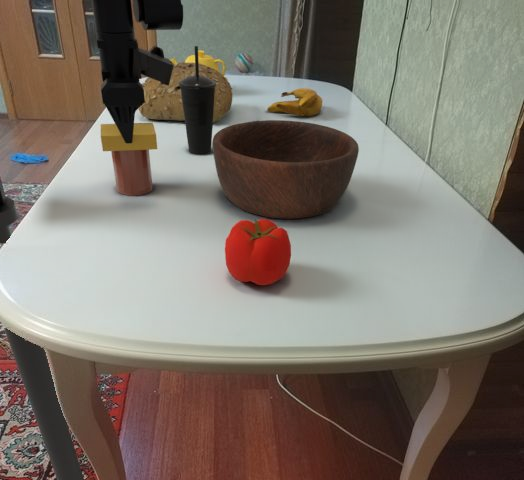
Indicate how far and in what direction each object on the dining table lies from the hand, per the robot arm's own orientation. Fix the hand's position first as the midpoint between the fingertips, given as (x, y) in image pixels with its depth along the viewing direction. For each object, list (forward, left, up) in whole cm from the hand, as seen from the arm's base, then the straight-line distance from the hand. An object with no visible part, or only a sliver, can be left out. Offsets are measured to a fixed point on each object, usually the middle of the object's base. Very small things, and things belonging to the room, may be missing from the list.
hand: (128, 136), depth 87 cm
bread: (+16, +51, -9) cm, 54 cm away
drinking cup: (+15, +20, -9) cm, 27 cm away
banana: (+46, +51, -9) cm, 69 cm away
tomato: (+15, -35, -9) cm, 39 cm away
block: (0, 0, -1) cm, 1 cm away
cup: (0, 0, -9) cm, 9 cm away
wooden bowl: (+26, -8, -9) cm, 29 cm away
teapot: (+23, +76, -9) cm, 80 cm away
